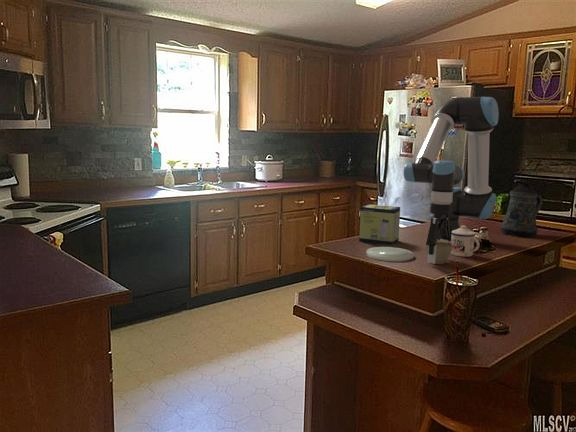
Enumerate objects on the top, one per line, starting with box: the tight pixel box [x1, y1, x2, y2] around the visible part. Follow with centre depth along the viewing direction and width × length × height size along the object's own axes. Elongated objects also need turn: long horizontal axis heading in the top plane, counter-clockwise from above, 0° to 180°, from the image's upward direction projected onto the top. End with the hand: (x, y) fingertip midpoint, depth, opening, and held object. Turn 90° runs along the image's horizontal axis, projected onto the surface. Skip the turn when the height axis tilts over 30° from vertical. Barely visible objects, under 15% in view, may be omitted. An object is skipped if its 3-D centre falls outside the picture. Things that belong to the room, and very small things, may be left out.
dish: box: [366, 246, 415, 263], centre depth 196 cm, size 18×18×2 cm
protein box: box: [358, 203, 401, 246], centre depth 222 cm, size 10×16×16 cm
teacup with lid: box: [450, 225, 480, 258], centre depth 200 cm, size 12×9×12 cm
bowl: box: [424, 240, 453, 265], centre depth 188 cm, size 10×10×7 cm
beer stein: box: [500, 182, 543, 238], centre depth 247 cm, size 16×19×25 cm
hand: (437, 259), depth 188 cm, fingers open, 12 cm apart
